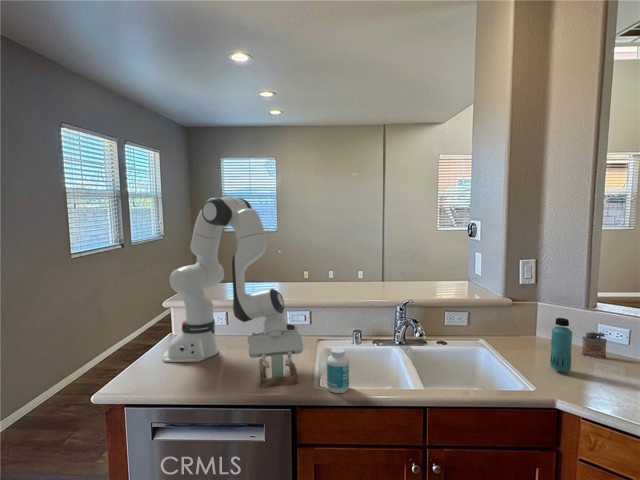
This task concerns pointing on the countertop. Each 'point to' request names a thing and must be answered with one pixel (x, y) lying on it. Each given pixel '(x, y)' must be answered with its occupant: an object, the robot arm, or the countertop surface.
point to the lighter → (594, 345)
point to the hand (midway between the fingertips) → (277, 366)
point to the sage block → (277, 365)
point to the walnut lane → (278, 380)
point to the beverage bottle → (561, 346)
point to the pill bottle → (337, 371)
